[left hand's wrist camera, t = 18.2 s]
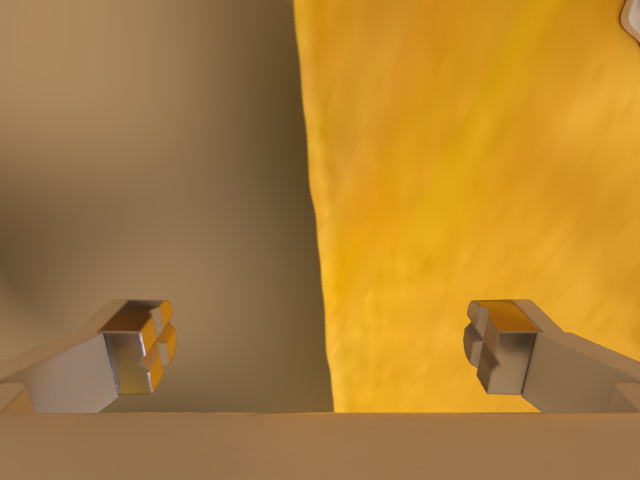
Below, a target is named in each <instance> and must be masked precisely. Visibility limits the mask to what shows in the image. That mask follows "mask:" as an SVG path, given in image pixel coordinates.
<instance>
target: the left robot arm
mask: <svg viewBox="0 0 640 480" xmlns="http://www.w3.org/2000/svg"><path fill="white" fill-rule="evenodd" d="M620 20H621V24H622V26H623V28H624V29H625V30H626V31H627V32H628V33H629V34H630V35H631V36H633V37H634V38H635V39H637V40H638V42H639V43H640V0H626V3H625V5H624V8H623V11H622V13H621V18H620ZM172 315H173V312H172V307H171V303H170V302H169V301H168V300H135V299H134V300H133V299H132V300H130V299H114V300H109V301H107V302H106V303H105V304H104V305H103V306H102V307H101V308H100V309H99V310H98V311H97V312H96V313H95V314H94V315H93V316H92V317H91V318H90V319H89V320H88V321H87V322H86V323H85V324H84V325H83V326H82V327H81V328H80V329H79V330H78V331H76V332H75V333H67V334H65V335H62V336H60V337H58V338H56V339H53V340H51V341H49V342H46V343H44V344H41V345H39V346H37V347H34V348H32V349H30V350H27V351H25V352H23V353H20V354H18V355H16V356H13V357H11V358H9V359H6V360H4V361H1V362H0V480H640V362H638V361H636V360H634V359H631V358H629V357H627V356H624V355H622V354H620V353H617V352H615V351H613V350H610V349H608V348H606V347H603V346H601V345H599V344H596V343H594V342H592V341H589V340H587V339H585V338H582V337H580V336H578V335H575V334H573V333H565V332H564V331H563V330H561V329H560V328H559V327H558V326H557V325H556V324H555V323H554V322H553V321H552V320H551V319H550V318H549V317H548V316H547V315H546V314H545V313H544V312H543V311H542V310H541V309H540V308H539V307H538V306H537V305H536V304H535V303H534V302H533V301H531V300H528V299H515V300H474V301H471V302H470V304H469V306H468V311H467V315H468V317H469V318H470V320H471V323H470V324H469V325H468V326H467V327H466V328H465V330H464V338H463V342H464V350H465V354H466V357H467V359H468V361H469V363H470V364H472V365H473V366H475V367H476V368H478V370H477V377H478V379H479V381H480V382H481V384H482V386H483V388H484V389H485V391H486V393H487V394H503V395H522V396H521V397H523V398H524V399H525V400H527V401H528V402H529V403H531V404H532V405H533V406H535V407H536V408H537V409H538V410H540V411H541V412H542V413H98V412H99V411H100V410H102V409H103V408H104V407H106V406H107V405H108V404H109V403H111V402H112V401H113V400H115V399H116V398H117V397H118V395H136V394H153V393H154V391H155V389H156V388H157V386H158V384H159V382H160V380H161V379H162V377H163V370H162V368H164V367H165V366H167V365H168V364H170V363H171V361H172V359H173V357H174V354H175V349H176V340H177V337H176V330H175V328H174V327H173V326H172V325H171V324H170V323H169V320H170V318H171V317H172Z"/></svg>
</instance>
